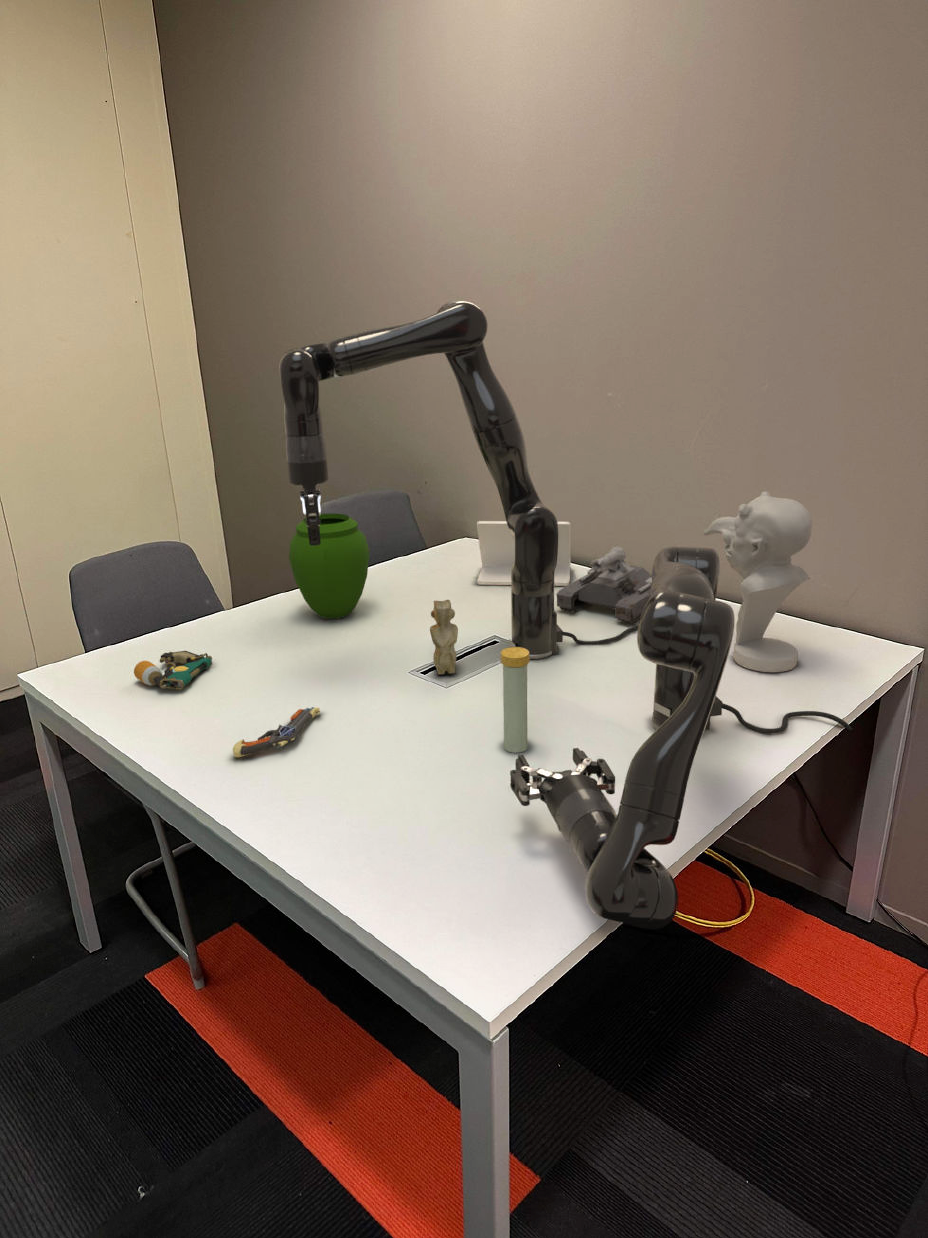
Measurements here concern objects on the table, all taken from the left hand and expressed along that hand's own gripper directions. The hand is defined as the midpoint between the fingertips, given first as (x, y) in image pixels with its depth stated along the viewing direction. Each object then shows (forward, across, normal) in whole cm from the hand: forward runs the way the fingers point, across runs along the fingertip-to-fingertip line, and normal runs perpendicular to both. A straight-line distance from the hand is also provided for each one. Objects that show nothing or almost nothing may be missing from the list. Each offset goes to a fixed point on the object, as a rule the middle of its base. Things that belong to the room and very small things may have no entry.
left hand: (314, 539), depth 170 cm
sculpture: (+29, -5, -24) cm, 39 cm away
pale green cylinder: (+29, -40, -31) cm, 58 cm away
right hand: (+21, -59, -31) cm, 70 cm away
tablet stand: (+29, +53, -58) cm, 84 cm away
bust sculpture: (+29, -15, -88) cm, 94 cm away
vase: (+29, +36, -4) cm, 47 cm away
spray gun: (+29, +7, +31) cm, 43 cm away
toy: (+29, +23, -73) cm, 82 cm away
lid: (+12, -40, -31) cm, 52 cm away
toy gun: (+29, -26, +10) cm, 40 cm away
